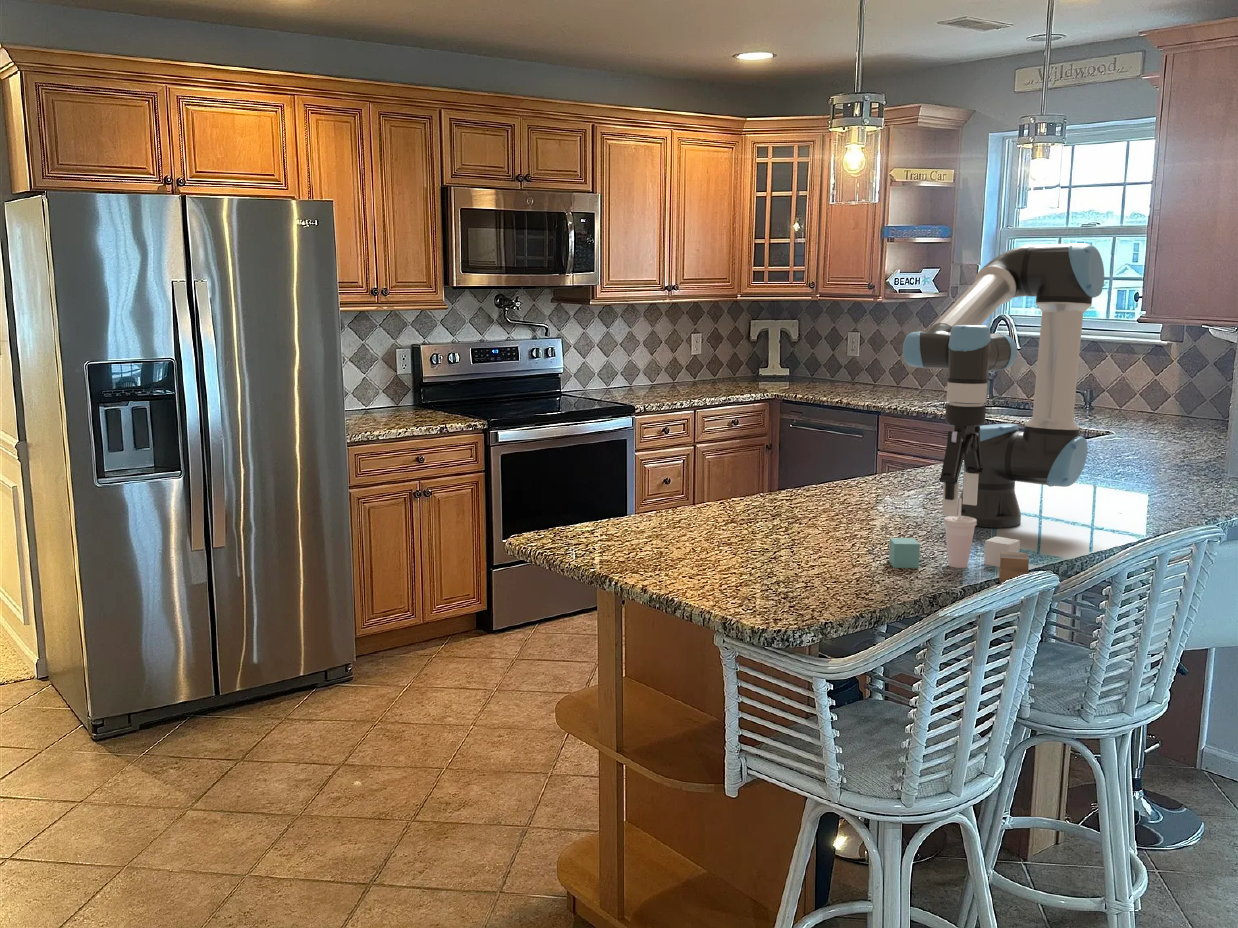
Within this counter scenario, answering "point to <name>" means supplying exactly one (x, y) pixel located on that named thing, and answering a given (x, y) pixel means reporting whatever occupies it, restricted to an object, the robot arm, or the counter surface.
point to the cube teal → (904, 553)
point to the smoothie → (959, 538)
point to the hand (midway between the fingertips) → (959, 510)
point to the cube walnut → (1013, 565)
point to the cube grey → (999, 549)
